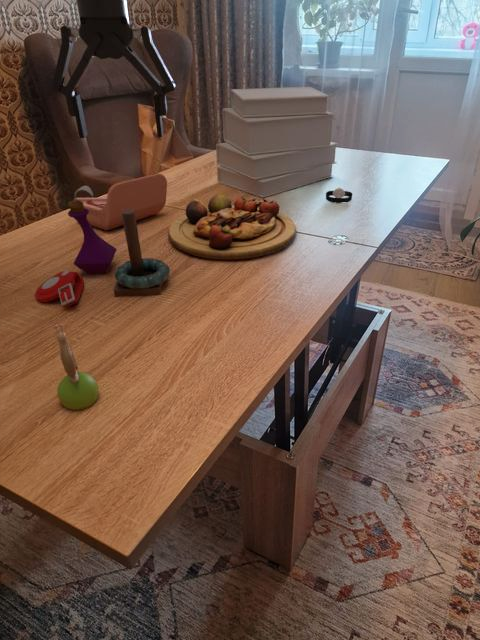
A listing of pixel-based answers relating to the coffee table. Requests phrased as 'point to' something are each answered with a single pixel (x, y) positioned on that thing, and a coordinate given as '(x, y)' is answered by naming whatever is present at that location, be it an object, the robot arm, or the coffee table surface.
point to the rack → (134, 259)
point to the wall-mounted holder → (127, 201)
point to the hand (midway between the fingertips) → (122, 136)
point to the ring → (143, 281)
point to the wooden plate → (232, 229)
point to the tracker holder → (61, 288)
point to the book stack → (275, 140)
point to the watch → (338, 195)
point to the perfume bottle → (90, 241)
